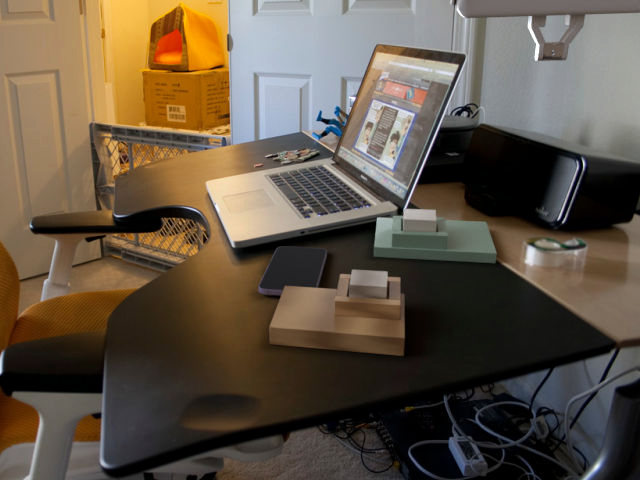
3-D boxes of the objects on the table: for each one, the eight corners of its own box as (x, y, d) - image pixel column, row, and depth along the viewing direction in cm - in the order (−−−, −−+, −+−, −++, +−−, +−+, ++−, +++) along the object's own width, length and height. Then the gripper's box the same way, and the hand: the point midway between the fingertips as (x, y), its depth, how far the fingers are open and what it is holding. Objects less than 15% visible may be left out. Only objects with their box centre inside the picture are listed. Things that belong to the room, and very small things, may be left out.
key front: (387, 285, 72) (387, 271, 72) (386, 301, 69) (387, 286, 68) (351, 283, 73) (352, 269, 73) (349, 298, 70) (349, 284, 69)
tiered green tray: (485, 230, 96) (487, 209, 94) (495, 263, 85) (498, 239, 83) (376, 226, 99) (377, 205, 98) (373, 256, 88) (374, 233, 87)
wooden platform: (403, 308, 74) (405, 277, 73) (403, 356, 65) (405, 322, 64) (285, 299, 78) (285, 270, 76) (269, 344, 68) (268, 311, 67)
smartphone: (328, 248, 90) (315, 292, 76) (328, 255, 90) (315, 301, 77) (277, 245, 92) (256, 288, 78) (277, 252, 92) (256, 296, 78)
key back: (434, 223, 91) (435, 209, 90) (436, 234, 87) (437, 220, 86) (402, 221, 92) (403, 208, 91) (402, 232, 88) (403, 219, 87)
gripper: (674, -88, 64) (647, 55, 69) (461, -74, 69) (450, 58, 74) (701, -94, 58) (669, 62, 63) (466, -79, 63) (454, 65, 68)
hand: (550, 60), depth 69 cm, fingers closed
